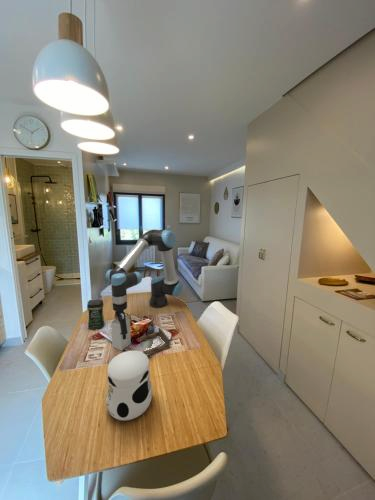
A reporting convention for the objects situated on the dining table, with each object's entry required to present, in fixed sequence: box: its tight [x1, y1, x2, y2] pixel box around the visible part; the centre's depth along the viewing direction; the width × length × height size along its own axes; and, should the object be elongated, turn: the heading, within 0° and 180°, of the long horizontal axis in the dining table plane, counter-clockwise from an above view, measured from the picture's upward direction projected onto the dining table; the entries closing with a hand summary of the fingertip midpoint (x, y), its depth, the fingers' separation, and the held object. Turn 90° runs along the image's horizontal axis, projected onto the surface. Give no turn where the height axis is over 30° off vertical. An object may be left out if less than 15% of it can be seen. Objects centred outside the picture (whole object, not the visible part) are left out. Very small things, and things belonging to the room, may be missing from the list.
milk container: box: [105, 350, 153, 422], centre depth 79 cm, size 17×17×18 cm
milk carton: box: [110, 313, 132, 352], centre depth 114 cm, size 7×7×19 cm
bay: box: [137, 327, 171, 356], centre depth 116 cm, size 15×14×5 cm
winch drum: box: [147, 321, 156, 335], centre depth 128 cm, size 4×5×8 cm
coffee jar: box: [86, 299, 105, 330], centre depth 133 cm, size 10×8×19 cm
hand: (121, 337), depth 115 cm, fingers open, 13 cm apart
